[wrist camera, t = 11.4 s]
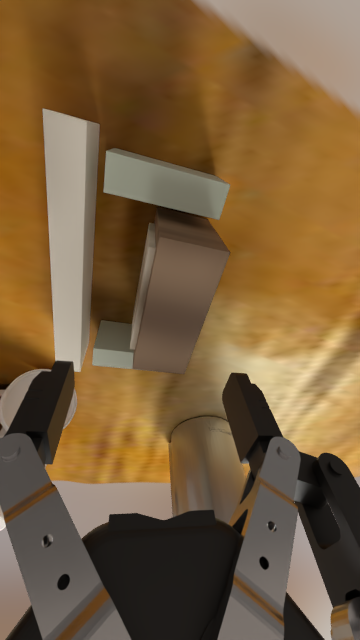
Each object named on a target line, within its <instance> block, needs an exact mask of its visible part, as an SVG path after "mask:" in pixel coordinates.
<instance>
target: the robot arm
mask: <svg viewBox="0 0 360 640" xmlns="http://www.w3.org/2000/svg"><path fill="white" fill-rule="evenodd" d="M74 384H75V382H74V363H73V361H59V360H56V361H55V363H54V365H53V368H52V370H51V371H41V372H40V373H39V374H38V375H37V376H36V377H35V378H34V379H33V380H32V382H31V384H30V386H29V388H28V391H27V392H26V394H25V396H24V400H22V402H21V404H20V407H19V409H18V411H17V413H16V415H15V417H14V419H13V421H12V423H11V425H10V427H9V429H8V431H7V433H6V434H5V435H4V437H2V438H1V439H0V506H1V509H2V512H3V516H4V521H5V524H6V528H7V531H8V534H9V537H10V540H11V543H12V546H13V549H14V552H15V555H16V559H17V562H18V564H19V568H20V571H21V574H22V577H23V580H24V583H25V586H26V589H27V592H28V596H29V598H30V602H31V606H30V607H29V609H28V610H27V611H26V612H25V614H24V615H23V617H22V618H21V619H20V621H19V622H18V623H17V625H16V626H15V627H14V629H13V630H12V632H11V633H10V634H9V635H8V637H7V638H6V639H5V640H324V638H323V637H322V636H321V635H320V633H319V632H318V631H317V629H316V628H315V627H314V626H313V625H312V623H311V622H310V621H309V620H308V619H307V617H306V616H305V615H304V613H303V612H302V611H301V610H300V608H299V607H298V606H297V605H296V603H295V602H294V601H293V600H292V598H291V597H290V596H289V595H288V593H287V592H286V588H287V582H288V575H289V568H290V562H291V555H292V548H293V542H294V535H295V529H296V522H297V515H298V513H299V516H300V518H301V521H302V524H303V526H304V529H305V532H306V535H307V537H308V540H309V543H310V545H311V548H312V551H313V554H314V557H315V559H316V562H317V565H318V568H319V570H320V573H321V576H322V579H323V581H324V584H325V587H326V590H327V592H328V595H329V598H330V600H331V603H332V606H333V610H332V613H331V638H332V640H360V487H359V486H358V484H357V482H356V480H355V479H354V477H353V475H352V473H351V472H350V470H349V468H348V467H347V465H346V464H345V463H344V462H343V461H342V460H341V459H340V458H338V457H337V456H335V455H333V454H330V453H322V454H321V455H320V456H319V457H318V458H316V457H314V456H311V455H308V454H305V453H302V452H299V451H298V450H297V448H296V447H295V445H294V444H293V443H291V442H290V441H289V440H287V439H285V438H283V436H282V434H281V431H280V429H279V427H278V425H277V423H276V421H275V419H274V416H273V414H272V412H271V410H270V409H269V406H268V403H267V402H266V399H265V397H264V395H263V393H262V391H261V390H260V389H259V388H258V387H257V386H256V384H251V382H250V380H249V377H248V375H247V374H245V373H231V374H230V376H229V379H228V381H227V383H226V386H225V388H224V390H223V394H222V401H223V405H224V408H225V412H226V415H227V419H228V422H227V421H226V420H224V419H222V418H218V417H210V416H208V417H198V418H193V419H190V420H187V421H185V422H183V423H181V424H180V425H178V426H177V427H176V428H175V429H174V430H173V432H172V434H171V443H169V462H170V480H171V497H172V514H173V518H170V519H168V520H159V519H156V518H152V517H149V516H145V515H141V514H138V513H132V514H110V515H109V522H108V523H105V524H102V525H100V526H98V527H97V528H95V529H93V530H92V531H91V532H89V533H88V534H87V535H85V536H84V537H83V538H82V539H81V538H80V535H79V533H78V531H77V529H76V527H75V525H74V523H73V521H72V519H71V517H70V515H69V512H68V510H67V508H66V506H65V504H64V502H63V500H62V498H61V496H60V494H59V492H58V490H57V488H56V486H55V485H54V484H52V482H51V480H50V478H49V476H48V474H47V472H46V470H45V467H44V465H45V464H53V460H54V457H55V454H56V450H57V447H58V444H59V440H60V437H61V433H62V430H63V427H64V423H65V420H66V417H67V413H68V410H69V407H70V403H71V400H72V397H73V392H74ZM242 463H249V466H250V470H249V473H248V475H247V478H246V476H245V473H244V469H243V465H242ZM294 502H295V503H294ZM328 503H329V504H328ZM332 512H333V513H332ZM333 514H334V515H333ZM337 523H338V524H337ZM338 525H339V526H338Z"/></svg>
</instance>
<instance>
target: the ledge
mask: <svg viewBox="0 0 360 640" xmlns="http://www.w3.org/2000/svg"><path fill="white" fill-rule="evenodd" d="M43 126H44V146H45V165H46V185H47V205H48V224H49V244H50V263H51V283H52V302H53V322H54V341H55V361H56V360H59V361H73V363H74V371H75V372H80V371H81V367H82V364H83V361H84V357H85V354H86V351H87V347H88V344H89V333H90V312H91V292H92V272H93V252H94V232H95V212H96V192H97V172H98V152H99V132H100V124H97V123H94V122H91V121H87V120H84V119H80V118H77V117H74V116H70V115H67V114H63V113H59V112H55V111H51V110H47V109H43ZM229 187H230V184H228V183H227V182H225V181H223V180H222V179H220V178H218V177H217V176H214V175H211V174H207V173H203V172H200V171H196V170H193V169H189V168H186V167H182V166H178V165H175V164H171V163H168V162H164V161H160V160H157V159H153V158H150V157H146V156H142V155H139V154H135V153H132V152H128V151H124V150H121V149H117V148H113V149H110V150H107V151H106V161H105V177H104V192H105V193H109V194H113V195H117V196H121V197H126V198H130V199H134V200H138V201H142V202H147V203H151V204H155V205H159V206H163V207H167V208H172V209H176V210H180V211H184V212H188V213H192V214H197V215H201V216H205V217H209V218H213V219H218V220H219V219H220V216H221V213H222V210H223V206H224V203H225V200H226V197H227V194H228V191H229ZM131 331H132V324H127V323H120V322H112V321H105V320H101V322H100V326H99V330H98V333H97V337H96V341H95V345H94V348H93V364H92V365H95V366H106V367H116V368H127V369H132V367H133V355H134V350H133V349H130V341H131ZM137 370H139V369H137ZM147 371H149V370H147Z"/></svg>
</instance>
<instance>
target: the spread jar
mask: <svg viewBox="0 0 360 640" xmlns="http://www.w3.org/2000/svg"><path fill="white" fill-rule="evenodd" d="M41 371H51V370H50V369H36V370H32V371H28V372H26V373H24V374H22V375H20V376H19V377H17V378H16V379H15V380H14V381H13V382H12V383H11V384H9V385H0V439H1V438H2V437H4V435H5V434H6V433H7V431H8V429H9V427H10V425H11V423H12V421H13V419H14V417H15V415H16V413H17V411H18V409H19V407H20V404H21V402H22V400H24V396H25V394H26V392H27V391H28V388H29V386H30V384H31V382H32V380H33V379H34V378H35V377H36V376H37V375H38V374H39V373H40V372H41ZM76 406H77V395H76V391H75V389H74V392H73V397H72V400H71V403H70V407H69V410H68V413H67V417H66V420H65V423H64V427H63V429H64V428H65V427H66V426H67V425H68V424H69V423H70V421H71V419H72V418H73V416H74V413H75V411H76ZM46 465H47V464H45V465H44V467H45V468H46ZM5 527H6V524H5V521H4V516H3V512H2V509H1V506H0V530H2V529H3V528H5Z"/></svg>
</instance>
